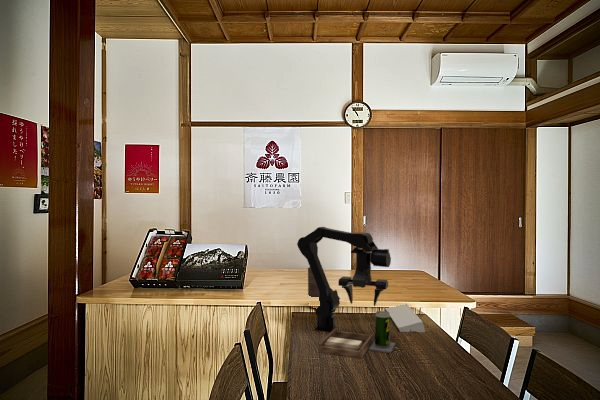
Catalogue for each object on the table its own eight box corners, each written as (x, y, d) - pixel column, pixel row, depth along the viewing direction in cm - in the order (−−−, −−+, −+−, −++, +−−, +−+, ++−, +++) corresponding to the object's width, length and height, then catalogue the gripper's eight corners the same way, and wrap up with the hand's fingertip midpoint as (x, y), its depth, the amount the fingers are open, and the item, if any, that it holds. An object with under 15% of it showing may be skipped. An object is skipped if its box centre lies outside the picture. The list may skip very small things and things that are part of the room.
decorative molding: (401, 339, 181) (425, 333, 180) (398, 327, 180) (422, 321, 180) (386, 315, 215) (406, 310, 214) (383, 306, 215) (404, 301, 214)
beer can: (373, 347, 161) (373, 313, 160) (376, 342, 166) (376, 310, 165) (388, 349, 159) (388, 315, 158) (391, 344, 164) (391, 311, 163)
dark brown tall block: (305, 308, 215) (305, 267, 215) (310, 305, 222) (310, 265, 222) (320, 310, 212) (321, 268, 212) (325, 306, 219) (325, 266, 219)
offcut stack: (324, 350, 158) (324, 340, 158) (329, 346, 163) (329, 336, 163) (359, 356, 153) (359, 345, 153) (363, 350, 158) (363, 340, 158)
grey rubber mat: (369, 350, 159) (369, 348, 159) (375, 341, 168) (375, 340, 168) (390, 353, 156) (390, 351, 156) (395, 344, 165) (395, 342, 165)
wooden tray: (318, 352, 157) (318, 343, 157) (335, 335, 175) (335, 328, 175) (362, 358, 151) (362, 349, 151) (374, 340, 169) (374, 332, 169)
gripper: (334, 266, 171) (334, 307, 172) (383, 269, 165) (382, 312, 165) (342, 262, 182) (342, 300, 182) (388, 265, 175) (388, 305, 175)
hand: (362, 304), depth 176 cm, fingers open, 9 cm apart
